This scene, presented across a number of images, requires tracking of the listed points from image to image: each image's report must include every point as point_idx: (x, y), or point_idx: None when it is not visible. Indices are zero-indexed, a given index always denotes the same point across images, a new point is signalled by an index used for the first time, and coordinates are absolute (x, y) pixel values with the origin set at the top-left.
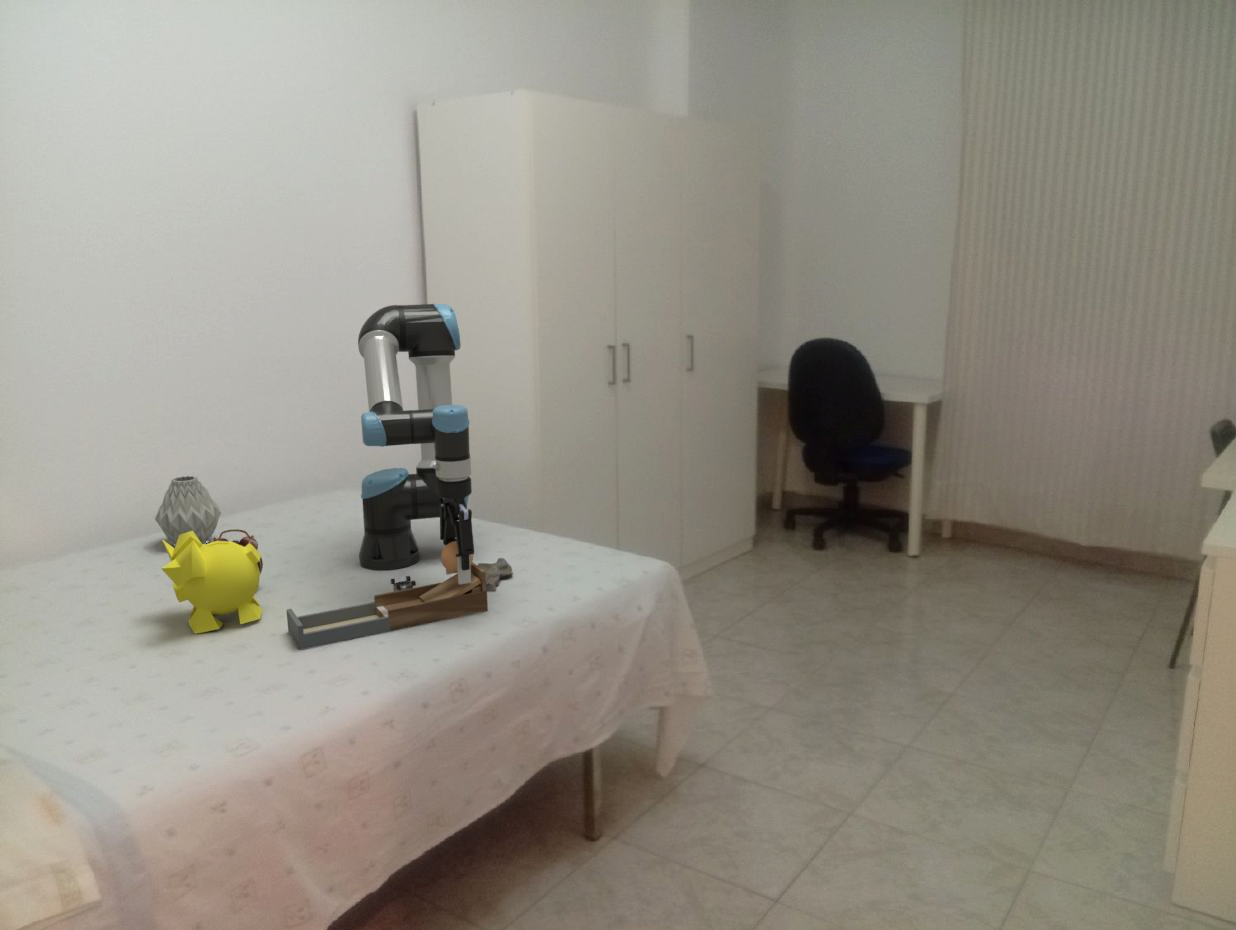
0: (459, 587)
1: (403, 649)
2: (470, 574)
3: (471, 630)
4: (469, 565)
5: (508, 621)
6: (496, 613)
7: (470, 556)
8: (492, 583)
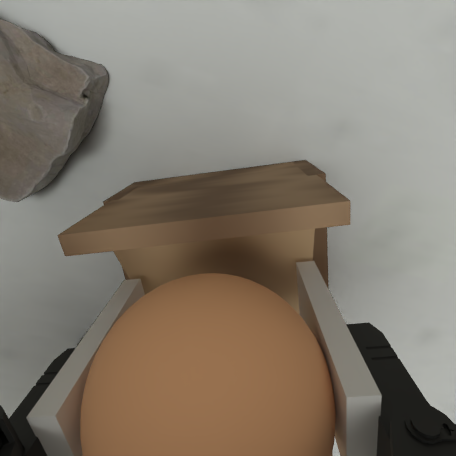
0: (274, 290)
1: (449, 418)
2: (324, 284)
3: (444, 254)
4: (387, 343)
5: (452, 116)
6: (349, 137)
7: (305, 341)
8: (82, 75)
